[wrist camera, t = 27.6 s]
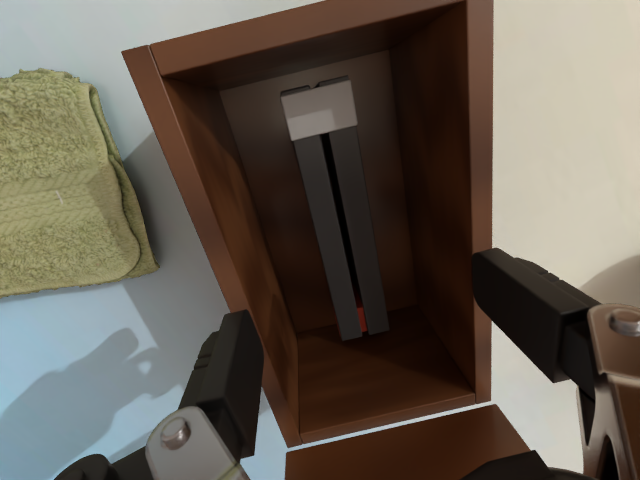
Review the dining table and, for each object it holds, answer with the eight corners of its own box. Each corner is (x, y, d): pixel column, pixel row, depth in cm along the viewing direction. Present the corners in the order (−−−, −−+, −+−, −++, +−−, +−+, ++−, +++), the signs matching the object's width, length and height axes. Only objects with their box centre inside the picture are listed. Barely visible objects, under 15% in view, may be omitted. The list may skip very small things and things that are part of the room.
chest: (202, 79, 18) (119, 51, 9) (397, 31, 18) (494, -43, 9) (289, 336, 26) (287, 448, 17) (425, 303, 26) (491, 401, 17)
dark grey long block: (374, 293, 24) (391, 332, 20) (333, 302, 24) (341, 344, 20) (336, 82, 18) (350, 74, 14) (281, 95, 18) (278, 91, 14)
